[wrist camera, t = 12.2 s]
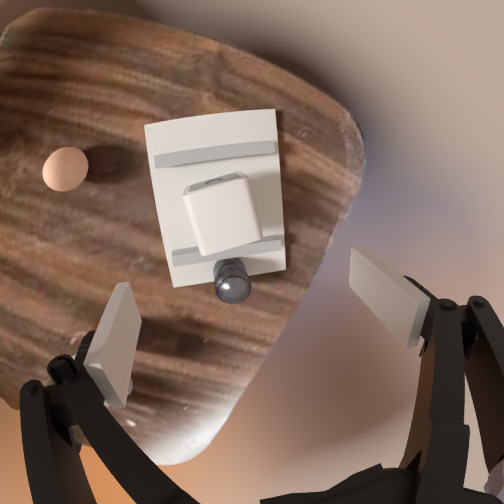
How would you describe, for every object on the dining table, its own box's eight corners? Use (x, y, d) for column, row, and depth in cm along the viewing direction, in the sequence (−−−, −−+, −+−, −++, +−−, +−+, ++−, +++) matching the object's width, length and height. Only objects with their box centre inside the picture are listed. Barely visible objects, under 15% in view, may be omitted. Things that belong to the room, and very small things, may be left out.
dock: (145, 125, 31) (141, 124, 29) (272, 109, 33) (279, 107, 31) (174, 284, 40) (172, 294, 37) (283, 266, 42) (289, 275, 39)
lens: (210, 258, 39) (212, 278, 34) (242, 253, 39) (249, 271, 34) (216, 287, 40) (219, 309, 35) (246, 281, 41) (254, 302, 36)
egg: (55, 165, 31) (24, 174, 23) (80, 137, 30) (51, 139, 23) (77, 192, 33) (49, 208, 25) (103, 165, 32) (79, 174, 25)
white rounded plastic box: (236, 167, 34) (249, 176, 25) (250, 220, 37) (266, 246, 28) (187, 181, 34) (180, 196, 25) (203, 233, 37) (203, 265, 28)
